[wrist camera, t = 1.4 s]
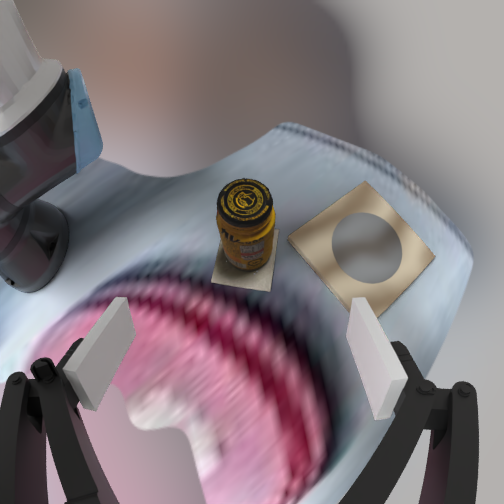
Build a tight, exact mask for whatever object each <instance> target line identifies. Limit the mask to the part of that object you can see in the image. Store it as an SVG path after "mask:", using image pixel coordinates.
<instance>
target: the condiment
mask: <svg viewBox="0 0 504 504" xmlns="http://www.w3.org/2000/svg"><path fill="white" fill-rule="evenodd" d="M216 220H217V225H218V229H219V233H220V237H221V240H220V245H219V249H218V253H217V257H216V262H215V267H214V271H213V275H212V280H211V282H213V283H218V284H224V285H230V286H236V287H242V288H248V289H255V290H262V291H269V292H270V289H271V282H272V275H273V268H274V262H275V255H276V248H277V241H278V234H279V229H274V227H275V211H274V208H273V199H272V195H271V194H270V192H269V189H268V188H267V187H266V186H265V185H264V184H262V183H261V182H259V181H257V180H252V179H245V178H243V179H238V180H235V181H233V182H231V183H229V184H227V185H226V186H225V187H224V188H223V189H222V190H221V192H220V193H219V196H218V199H217V216H216ZM226 261H227V262H226ZM256 271H258V272H256ZM254 273H256V274H255V275H254Z"/></svg>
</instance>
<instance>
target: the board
mask: <svg viewBox="0 0 504 504" xmlns="http://www.w3.org/2000/svg"><path fill="white" fill-rule="evenodd" d="M287 240H288V241H289V242H290V244H291V245H292V246H293V247H294V248H295V249H296V250H297V252H298V253H299V254H300V255H301V256H302V257H303V259H304V260H305V261H306V262H307V263H308V264H309V266H310V267H311V268H312V269H313V270H314V271H315V273H316V274H317V275H318V276H319V277H320V278H321V280H322V281H323V282H324V283H325V284H326V286H327V287H328V288H329V289H330V290H331V291H332V293H333V294H334V295H335V296H336V297H337V299H338V300H339V301H340V302H341V303H342V305H343V306H344V307H345V308H346V309H347V311H348V312H349V313H350V310H351V304H352V298H358V297H365V298H366V300H367V302H368V303H369V305H370V307H371V309H372V311H373V312H374V314H375V316H376V318H378V317H379V316H380V315H381V314H382V313H383V312H384V311H385V310H386V309H387V308H388V307H389V306H390V305H391V304H392V303H393V302H394V301H395V300H396V299H397V298H398V297H399V296H400V295H401V294H402V292H403V291H404V290H405V289H406V288H407V287H408V286H409V285H410V284H411V283H412V282H413V281H414V280H415V279H416V278H417V276H418V275H419V274H420V273H421V272H422V271H423V270H424V269H425V268H426V266H427V265H428V264H429V263H430V262H431V261H432V260H433V258H434V257H435V255H434V254H433V253H432V252H431V250H430V249H429V248H428V247H427V246H426V245H425V243H424V242H423V241H422V240H421V239H420V238H419V236H418V235H417V234H416V233H415V232H414V231H413V230H412V229H411V227H410V226H409V225H408V224H407V223H406V222H405V221H404V220H403V219H402V218H401V216H400V215H399V214H398V213H397V212H396V211H395V210H394V209H393V208H392V207H391V206H390V205H389V204H388V203H387V202H386V201H385V200H384V199H383V198H382V197H381V196H380V195H379V194H378V193H377V192H376V191H375V190H374V189H373V188H372V187H371V186H370V185H369V184H368V183H367V182H366V181H364V182H363V183H361V184H360V185H358V186H357V187H356V188H354V189H353V190H352V191H350V192H349V193H347V194H346V195H345V196H343V197H342V198H340V199H339V200H338V201H336V202H335V203H334V204H332V205H331V206H329V207H328V208H327V209H325V210H324V211H322V212H321V213H320V214H318V215H317V216H315V217H314V218H313V219H311V220H310V221H308V222H307V223H306V224H304V225H303V226H301V227H300V228H299V229H297V230H296V231H294V232H293V233H292V234H290V235H289V236H288V239H287Z"/></svg>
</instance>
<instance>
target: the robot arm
mask: <svg viewBox="0 0 504 504" xmlns="http://www.w3.org/2000/svg"><path fill="white" fill-rule="evenodd" d="M102 149H103V142H102V138H101V135H100V132H99V128H98V125H97V122H96V119H95V115H94V112H93V109H92V106H91V102H90V99H89V96H88V92H87V89H86V86H85V83H84V80H83V77H82V74H81V71H80V69H78V68H76V69H73V70H72V69H71V70H69V71H68V72H67V73H65V71H64V69H63V67H62V65H61V63H60V62H59V61H58V60H55V59H43V58H41V57H40V55H39V53H38V51H37V49H36V48H35V45H34V43H33V42H32V40H31V37H30V36H29V33H28V31H27V29H26V27H25V25H24V23H23V21H22V19H21V17H20V15H19V12H18V10H17V8H16V6H15V4H14V1H13V0H0V276H1V277H2V278H3V279H4V280H5V282H6V283H7V284H8V285H10V286H11V287H13V288H15V289H17V290H19V291H21V292H34V291H36V290H39V289H40V288H42V287H43V286H45V285H46V284H47V283H48V282H49V281H50V280H51V279H52V278H53V276H54V275H55V274H56V272H57V271H58V269H59V267H60V266H61V264H62V261H63V259H64V257H65V254H66V250H67V246H68V240H69V229H68V224H67V221H66V218H65V217H64V215H63V214H62V213H61V212H60V211H59V210H58V209H57V208H56V207H55V206H54V205H52V204H51V203H48V202H45V201H42V200H40V199H37V198H39V197H40V196H42V195H43V194H45V193H46V192H48V191H49V190H51V189H52V188H54V187H55V186H57V185H58V184H60V183H61V182H63V181H65V180H66V179H68V178H69V177H71V176H73V175H74V174H78V173H79V172H80V170H81V169H82V168H84V167H85V166H87V165H88V164H90V163H91V162H93V161H94V160H96V159H97V158H98V157H99V156H100V154H101V152H102ZM135 336H136V332H135V328H134V325H133V321H132V317H131V313H130V309H129V305H128V301H127V298H124V297H115V299H114V300H113V301H112V303H111V304H110V305H109V306H108V308H107V309H106V310H105V312H104V313H103V314H102V315H101V317H100V318H99V319H98V321H97V322H96V323H95V325H94V326H93V327H92V329H91V330H90V331H89V333H88V334H87V335H86V337H85V338H80V339H78V340H77V341H75V342H74V343H73V344H72V346H71V347H70V348H69V350H68V351H67V352H66V354H65V355H64V356H63V358H62V359H61V360H60V362H59V363H58V365H57V366H56V367H55V365H54V363H53V361H52V360H51V359H50V358H40V359H38V360H36V361H35V362H34V363H33V364H32V365H31V368H30V370H31V372H32V374H33V376H34V377H35V379H28V378H27V377H26V375H25V373H23V372H15V373H13V374H11V375H10V376H9V377H8V379H7V381H6V385H5V389H4V394H3V398H2V403H1V407H0V504H48V492H47V476H46V432H47V437H48V441H49V445H50V448H51V452H52V456H53V459H54V462H55V466H56V469H57V472H58V475H59V479H60V481H61V484H62V487H63V490H64V493H65V495H66V498H67V502H65V503H64V504H119V502H118V500H117V498H116V496H115V494H114V493H113V490H112V489H111V487H110V485H109V482H108V480H107V478H106V476H105V474H104V472H103V470H102V468H101V465H100V463H99V461H98V459H97V456H96V454H95V452H94V449H93V447H92V444H91V442H90V439H89V437H88V434H87V432H86V429H85V426H84V424H83V420H82V418H81V415H80V412H79V409H78V408H77V404H78V402H79V401H80V403H81V404H82V406H83V408H85V409H89V410H93V411H96V410H97V408H98V406H99V404H100V402H101V400H102V398H103V396H104V394H105V392H106V390H107V389H108V387H109V385H110V383H111V381H112V379H113V377H114V375H115V373H116V371H117V369H118V367H119V365H120V364H121V362H122V360H123V358H124V356H125V354H126V352H127V350H128V349H129V347H130V345H131V343H132V341H133V340H134V338H135ZM346 338H347V341H348V343H349V346H350V349H351V352H352V354H353V357H354V360H355V363H356V365H357V368H358V371H359V374H360V377H361V380H362V383H363V386H364V389H365V392H366V395H367V397H368V401H369V404H370V407H371V410H372V413H373V416H374V419H375V421H376V420H382V419H388V418H390V417H391V415H392V413H393V411H394V412H395V415H396V416H395V418H394V420H393V422H392V424H391V426H390V427H389V429H388V431H387V433H386V434H385V436H384V438H383V439H382V441H381V443H380V444H379V446H378V448H377V449H376V451H375V452H374V454H373V456H372V457H371V459H370V460H369V462H368V463H367V465H366V466H365V468H364V469H363V471H362V472H361V474H360V475H359V477H358V478H357V479H356V481H355V482H354V484H353V485H352V486H351V488H350V489H349V490H348V492H347V493H346V494H345V496H344V497H343V498H342V500H341V501H340V502H339V504H384V503H385V501H386V500H387V498H388V497H389V495H390V493H391V491H392V490H393V488H394V486H395V485H396V483H397V481H398V479H399V478H400V476H401V474H402V472H403V470H404V468H405V466H406V464H407V463H408V460H409V459H410V457H411V454H412V453H413V450H414V448H415V446H416V444H417V442H418V440H419V438H420V435H421V433H422V431H423V429H429V430H431V436H430V444H429V452H428V458H427V465H426V471H425V476H424V482H423V486H422V491H421V496H420V500H419V504H475V501H476V491H477V480H478V462H479V426H478V406H477V393H476V390H475V388H474V387H473V385H471V384H470V383H468V382H464V381H462V382H457V383H455V385H454V386H453V388H452V389H440V388H436V386H435V385H434V383H433V382H431V381H429V380H425V379H424V378H423V376H422V374H421V373H420V371H419V369H418V367H417V365H416V363H415V362H414V361H413V358H412V356H411V355H410V353H409V351H408V349H407V348H406V346H404V345H403V344H402V343H401V342H400V341H395V342H389V340H388V338H387V336H386V334H385V332H384V330H383V329H382V327H381V325H380V323H379V321H378V319H377V318H376V316H375V314H374V312H373V311H372V309H371V307H370V305H369V303H368V302H367V300H366V298H365V297H358V298H352V304H351V310H350V316H349V322H348V328H347V333H346Z"/></svg>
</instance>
